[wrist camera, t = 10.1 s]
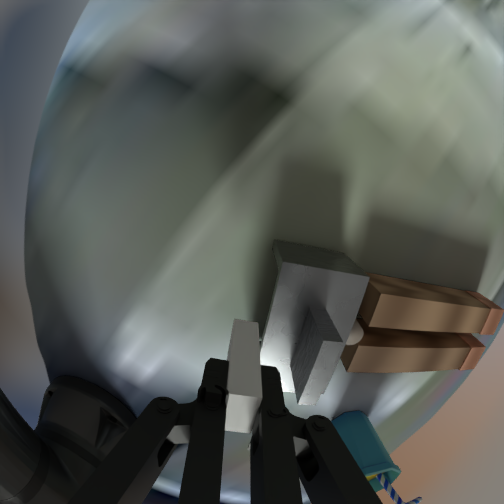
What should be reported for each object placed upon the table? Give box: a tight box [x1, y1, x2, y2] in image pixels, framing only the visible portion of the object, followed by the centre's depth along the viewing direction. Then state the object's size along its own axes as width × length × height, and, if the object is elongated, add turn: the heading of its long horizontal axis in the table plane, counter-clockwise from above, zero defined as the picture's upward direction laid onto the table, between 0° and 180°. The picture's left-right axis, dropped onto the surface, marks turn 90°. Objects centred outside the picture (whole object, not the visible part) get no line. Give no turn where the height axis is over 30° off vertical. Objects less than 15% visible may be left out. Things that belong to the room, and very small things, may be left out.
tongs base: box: [340, 318, 486, 373], centre depth 23 cm, size 24×6×5 cm, turn 79°
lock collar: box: [259, 239, 370, 405], centre depth 19 cm, size 6×10×10 cm, turn 169°
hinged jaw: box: [358, 272, 504, 335], centre depth 22 cm, size 18×3×5 cm, turn 79°
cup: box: [331, 410, 422, 504], centre depth 23 cm, size 14×8×15 cm, turn 66°
